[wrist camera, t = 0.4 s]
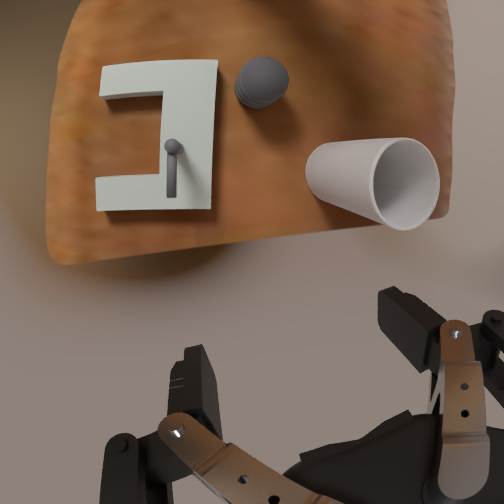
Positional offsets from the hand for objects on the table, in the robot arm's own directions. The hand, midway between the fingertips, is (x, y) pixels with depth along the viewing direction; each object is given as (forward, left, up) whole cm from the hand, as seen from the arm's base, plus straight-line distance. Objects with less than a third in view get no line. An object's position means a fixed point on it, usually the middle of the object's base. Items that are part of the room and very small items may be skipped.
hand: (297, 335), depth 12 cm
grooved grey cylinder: (-16, +2, -26) cm, 31 cm away
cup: (-6, +13, -26) cm, 30 cm away
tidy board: (-10, -10, -26) cm, 30 cm away
